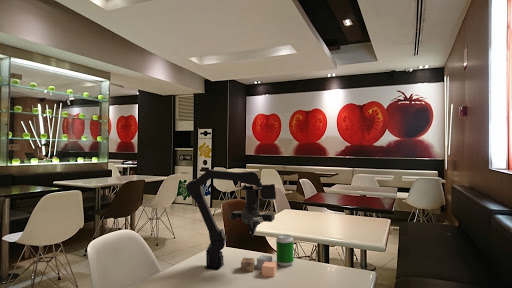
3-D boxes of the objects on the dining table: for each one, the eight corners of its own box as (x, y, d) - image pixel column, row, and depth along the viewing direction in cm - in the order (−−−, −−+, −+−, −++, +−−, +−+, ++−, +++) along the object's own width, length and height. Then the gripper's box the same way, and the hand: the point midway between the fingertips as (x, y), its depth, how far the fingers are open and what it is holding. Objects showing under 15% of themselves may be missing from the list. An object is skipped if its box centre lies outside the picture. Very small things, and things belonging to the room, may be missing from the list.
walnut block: (241, 271, 127) (240, 262, 127) (243, 267, 132) (242, 257, 132) (253, 272, 126) (252, 262, 126) (254, 267, 131) (254, 258, 131)
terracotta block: (262, 275, 122) (261, 265, 122) (265, 271, 127) (265, 261, 127) (274, 277, 121) (274, 267, 121) (277, 272, 126) (276, 262, 126)
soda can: (293, 267, 130) (292, 239, 130) (275, 266, 131) (275, 238, 131) (294, 261, 137) (294, 234, 137) (277, 260, 139) (277, 233, 139)
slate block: (257, 267, 131) (256, 258, 131) (261, 263, 135) (261, 254, 135) (267, 269, 128) (267, 260, 129) (272, 265, 133) (272, 256, 133)
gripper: (225, 202, 128) (225, 239, 127) (268, 204, 122) (268, 243, 122) (234, 198, 138) (235, 232, 138) (274, 199, 133) (275, 235, 133)
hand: (252, 235), depth 132 cm, fingers closed
